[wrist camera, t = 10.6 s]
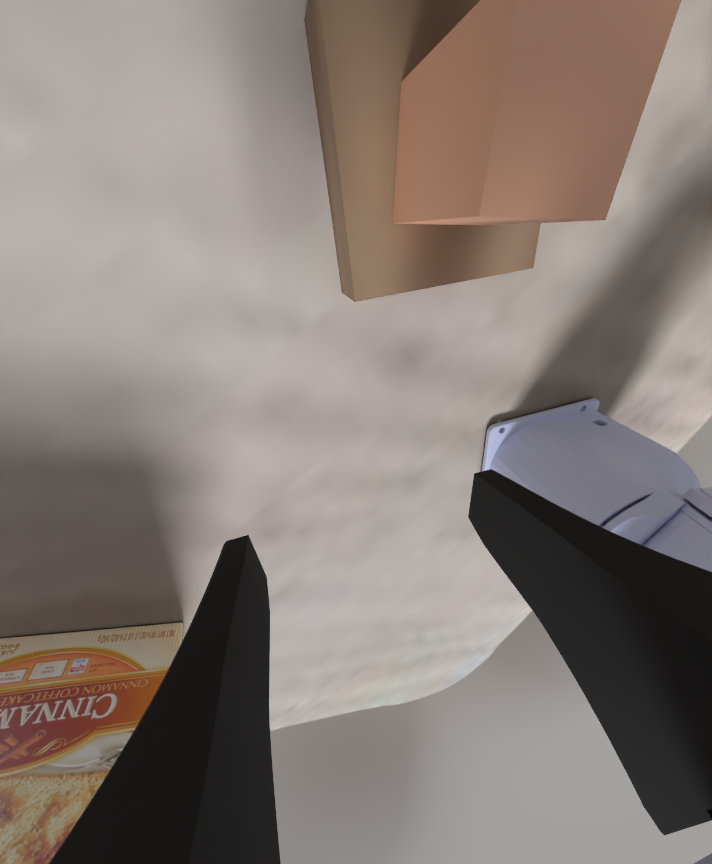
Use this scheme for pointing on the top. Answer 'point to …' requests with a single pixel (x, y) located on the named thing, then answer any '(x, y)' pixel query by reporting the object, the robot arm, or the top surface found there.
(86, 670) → the coffeecake box
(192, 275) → the top surface
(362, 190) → the walnut base block
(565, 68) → the terracotta block
